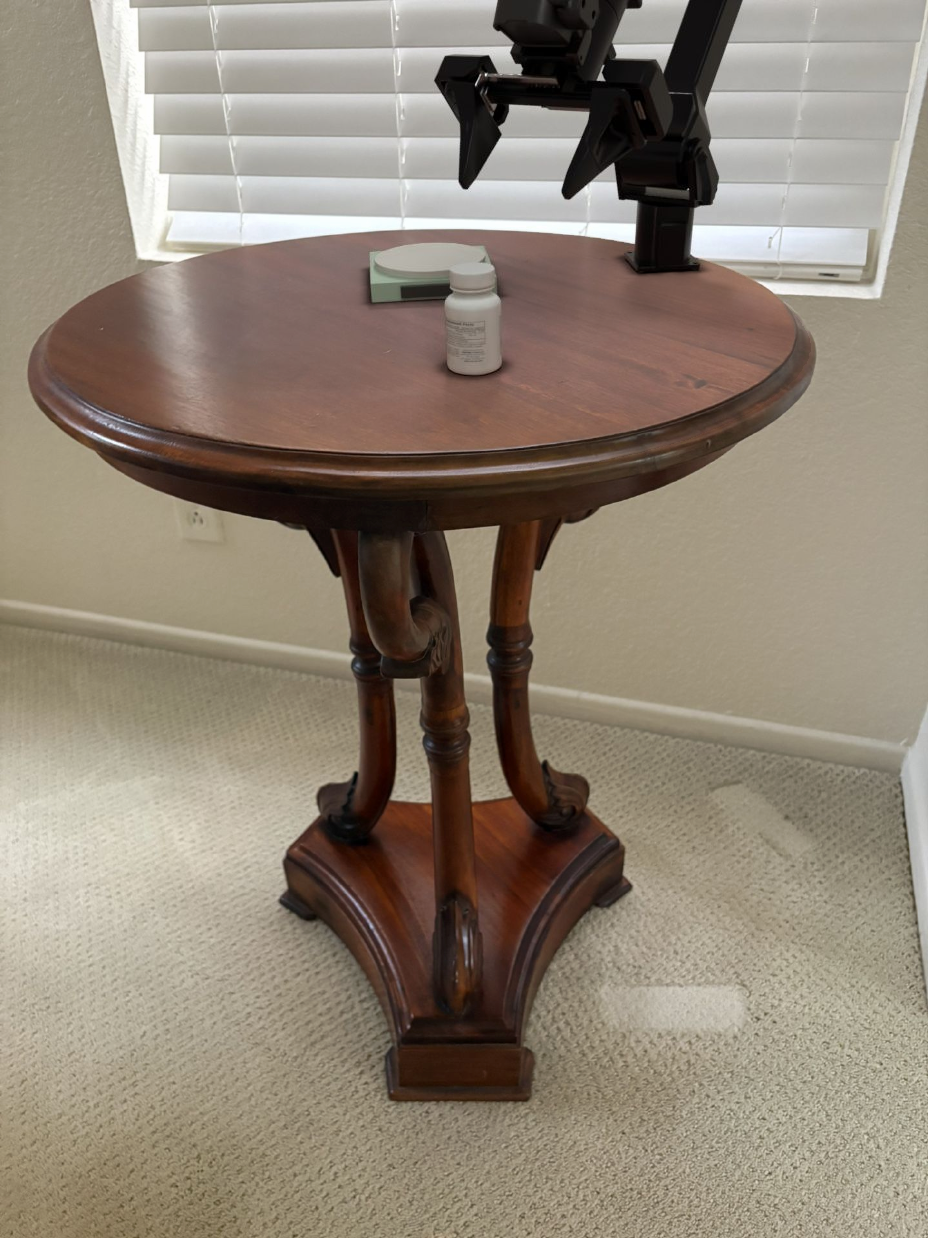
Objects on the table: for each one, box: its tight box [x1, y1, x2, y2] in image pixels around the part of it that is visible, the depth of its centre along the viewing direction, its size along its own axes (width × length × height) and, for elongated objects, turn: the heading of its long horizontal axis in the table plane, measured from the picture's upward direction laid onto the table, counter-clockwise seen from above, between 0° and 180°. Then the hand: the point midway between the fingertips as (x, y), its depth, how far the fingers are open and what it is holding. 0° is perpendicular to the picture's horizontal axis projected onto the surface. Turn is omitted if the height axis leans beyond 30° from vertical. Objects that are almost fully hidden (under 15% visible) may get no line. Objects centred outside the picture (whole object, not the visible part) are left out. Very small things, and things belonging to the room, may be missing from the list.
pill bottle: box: [444, 262, 503, 376], centre depth 78 cm, size 4×4×8 cm
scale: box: [369, 242, 498, 303], centre depth 100 cm, size 12×12×2 cm
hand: (512, 190), depth 78 cm, fingers open, 9 cm apart
